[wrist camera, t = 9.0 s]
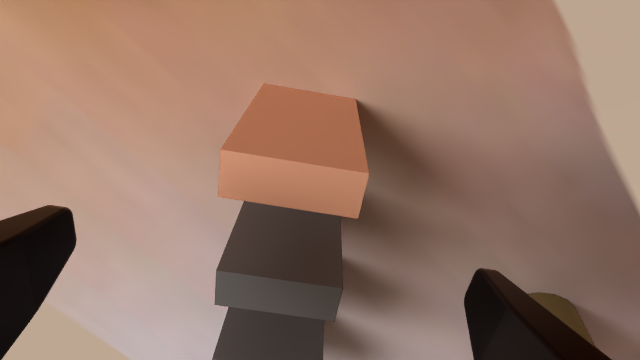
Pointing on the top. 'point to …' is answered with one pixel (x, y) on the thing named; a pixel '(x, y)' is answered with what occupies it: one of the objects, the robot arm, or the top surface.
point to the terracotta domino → (297, 153)
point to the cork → (563, 312)
